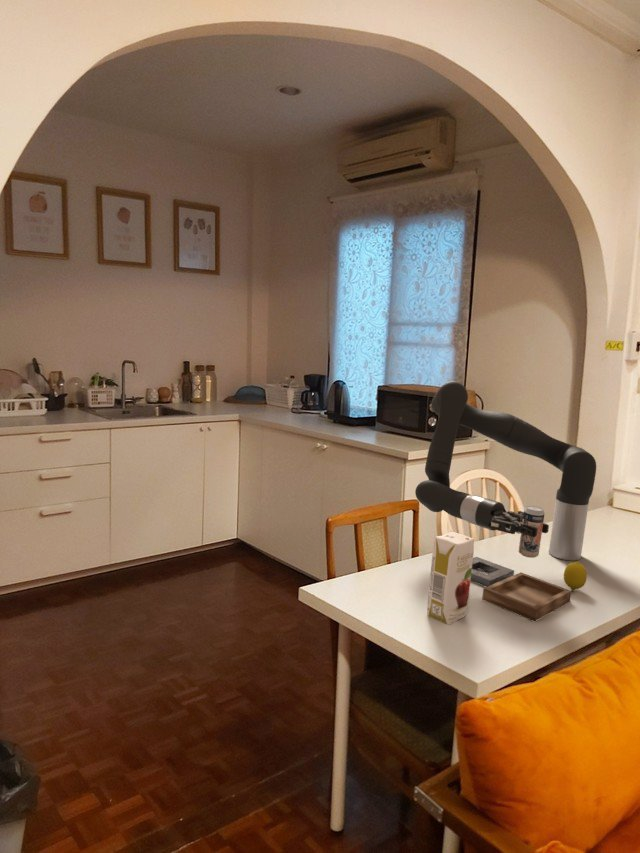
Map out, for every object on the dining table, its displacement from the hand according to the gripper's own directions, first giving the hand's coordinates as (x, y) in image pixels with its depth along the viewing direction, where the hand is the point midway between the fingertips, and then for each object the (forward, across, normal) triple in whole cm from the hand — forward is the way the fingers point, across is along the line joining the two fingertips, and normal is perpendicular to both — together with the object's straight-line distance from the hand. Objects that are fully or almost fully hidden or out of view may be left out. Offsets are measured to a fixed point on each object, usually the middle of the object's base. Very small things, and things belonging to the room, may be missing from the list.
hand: (542, 531), depth 152 cm
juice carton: (-8, -24, +19) cm, 32 cm away
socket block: (-18, +5, +19) cm, 26 cm away
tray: (-1, 0, +19) cm, 19 cm away
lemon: (+2, +17, +19) cm, 26 cm away
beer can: (-3, 0, +7) cm, 8 cm away
